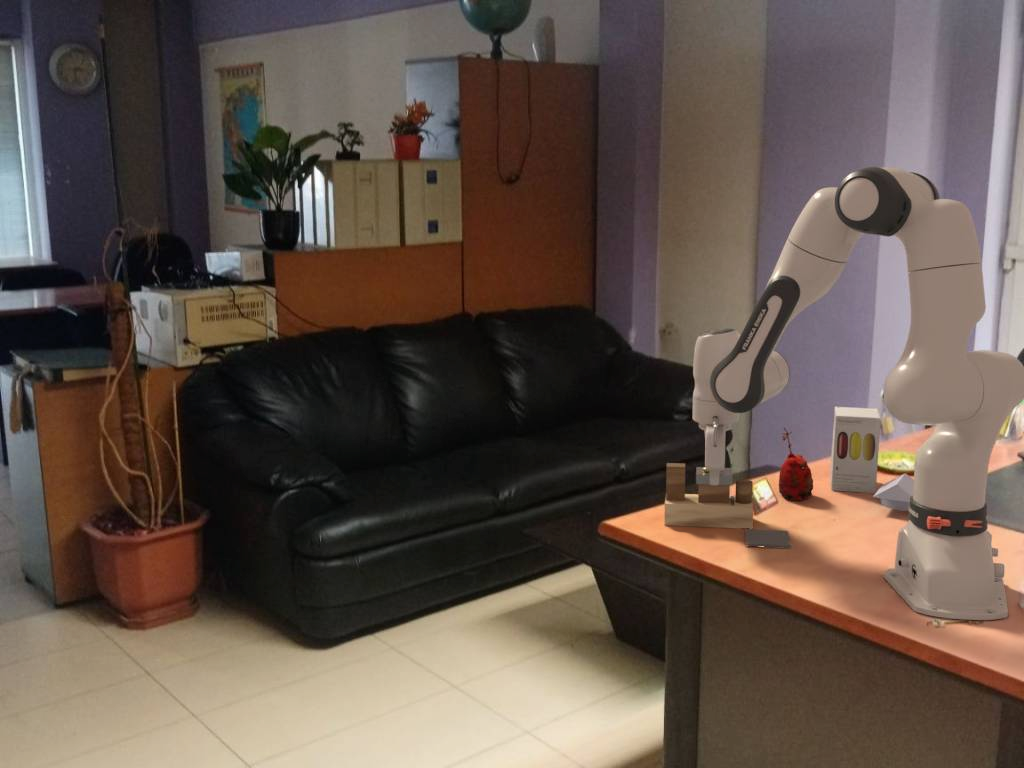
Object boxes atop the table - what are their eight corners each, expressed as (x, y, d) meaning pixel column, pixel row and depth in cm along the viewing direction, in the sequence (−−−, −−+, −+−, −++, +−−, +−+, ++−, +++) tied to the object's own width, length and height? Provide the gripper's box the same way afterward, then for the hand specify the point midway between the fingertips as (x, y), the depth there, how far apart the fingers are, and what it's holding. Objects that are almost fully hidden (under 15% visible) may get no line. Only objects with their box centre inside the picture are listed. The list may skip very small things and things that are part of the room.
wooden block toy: (752, 528, 199) (754, 472, 197) (664, 525, 202) (664, 469, 200) (751, 517, 205) (752, 462, 203) (665, 514, 209) (666, 460, 206)
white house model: (919, 519, 202) (930, 501, 213) (921, 487, 201) (932, 470, 212) (871, 512, 207) (885, 494, 218) (873, 481, 206) (887, 464, 216)
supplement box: (830, 491, 221) (833, 415, 217) (829, 478, 230) (832, 405, 226) (877, 493, 218) (881, 417, 215) (874, 481, 227) (878, 407, 224)
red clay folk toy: (806, 504, 213) (808, 434, 210) (772, 499, 216) (775, 430, 213) (816, 494, 219) (819, 426, 216) (783, 489, 223) (786, 422, 220)
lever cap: (732, 485, 199) (732, 472, 198) (695, 484, 200) (696, 471, 200) (732, 477, 204) (732, 465, 203) (696, 476, 205) (696, 464, 204)
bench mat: (790, 548, 189) (790, 545, 188) (746, 546, 190) (746, 543, 190) (787, 533, 196) (787, 530, 196) (745, 531, 198) (745, 528, 198)
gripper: (733, 424, 188) (731, 496, 191) (731, 399, 208) (729, 465, 211) (698, 423, 190) (697, 495, 193) (699, 399, 209) (698, 464, 212)
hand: (714, 479), depth 202 cm, fingers closed on lever cap, 5 cm apart
